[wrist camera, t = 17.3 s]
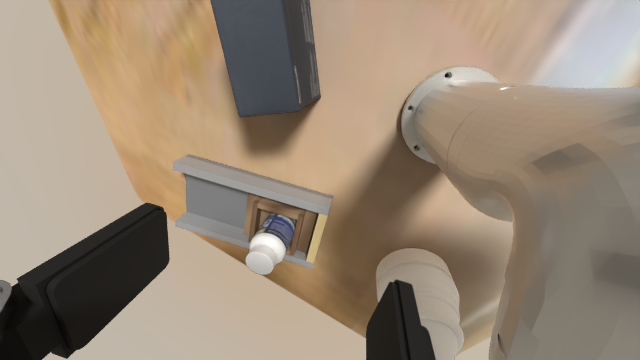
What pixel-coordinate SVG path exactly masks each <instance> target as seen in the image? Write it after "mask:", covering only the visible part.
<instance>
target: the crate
mask: <svg viewBox="0 0 640 360" xmlns="http://www.w3.org/2000/svg"><path fill="white" fill-rule="evenodd" d="M272 212H273V213H276V214H279V215H283V216H286V217H289V218H293V219H295V221H296V227H295V232H294V236H293V238H292V240H291V243H290V245H289V247H288V249H287V252H286V254H289V255H292V256H294V254H295V252H296V250H298V251H301V252H304V253H307V250H308V247H309V244H310V240H311V236H312V233H313V229H314V225H315V222H316V218H317V214H318V213H316V212H313V211H310V210H306V209H303V208H299V207H296V206H293V205H289V204H286V203H283V202H279V201H276V200H273V199H269V198H266V197H262V196H259V195H256V194H252V193H249V192H248V197H247V206H246V215H245V224H244V233H243V234H246V235H249V240H248V242H251V240H252V238H253V237H254V235H255V234H256V233H257V231H258V230H259V228H260V227H261V225H262V224H263V222H264V221H265V220H266V218H267V217H268V215H269V214H270V213H272Z"/></svg>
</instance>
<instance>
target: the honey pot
mask: <svg viewBox="0 0 640 360" xmlns="http://www.w3.org/2000/svg"><path fill="white" fill-rule="evenodd" d="M396 279H397V280H400V281H404V282H407V283H410V284H412V286H413V290H414V294H415V299H416V303H417V308H418V312H419V317H420V321H421V325H422V326H424V327H426V328H427V330H428V331H429V334H430V338H431V342H432V346H433V350H434V354H435V358H436V360H455V355H456V354H457V353H458V352H459V351H460V350H461V348H462V346H463V344H464V334H463V332H462V329H461V327H460V326H459V323H460V315H459V293H458V291H457V288H456V286H455V283H454V281H453V278H452V276H451V274H450V271H449V269H448V267H447V264H446V263H445V262H444V261H443V260H442V258H440V257H439V256H437V255H436V254H434V253H432V252H430V251H427V250H424V249H417V248H406V249H401V250H397V251H394V252H392V253H390V254H388V255H387V256H385V257H384V258H383V259H382V260H381V261H380V263H379V265H378V266H377V270H376V287H377V299H378V303H379V301H380V299H381V297H382V295H383V293H384V291H385V289H386V288H387V286H388V284H389V282H394V281H395V280H396Z"/></svg>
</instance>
